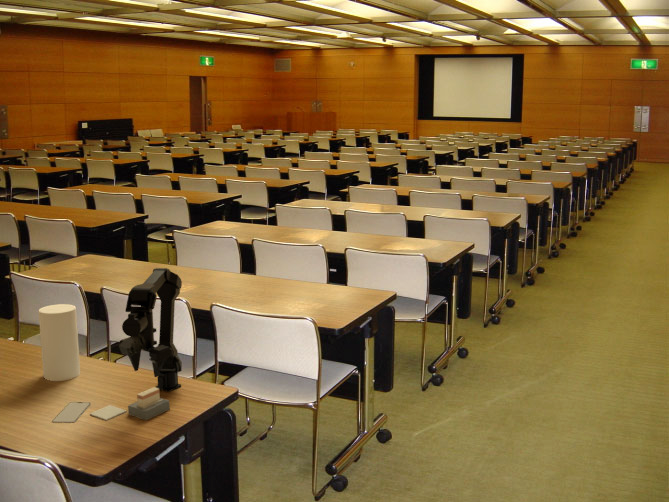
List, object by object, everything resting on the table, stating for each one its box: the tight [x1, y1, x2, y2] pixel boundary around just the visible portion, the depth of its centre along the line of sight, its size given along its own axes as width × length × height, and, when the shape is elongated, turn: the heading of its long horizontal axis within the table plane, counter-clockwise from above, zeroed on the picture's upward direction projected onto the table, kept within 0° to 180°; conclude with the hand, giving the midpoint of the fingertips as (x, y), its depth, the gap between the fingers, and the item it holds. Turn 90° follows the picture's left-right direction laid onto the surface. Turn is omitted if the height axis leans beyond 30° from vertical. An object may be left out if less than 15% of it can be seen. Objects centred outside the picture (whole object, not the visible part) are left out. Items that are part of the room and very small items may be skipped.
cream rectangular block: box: [136, 386, 161, 408], centre depth 224 cm, size 7×2×7 cm, turn 147°
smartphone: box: [51, 401, 92, 424], centre depth 224 cm, size 7×1×15 cm
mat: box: [89, 404, 128, 422], centre depth 223 cm, size 8×8×1 cm
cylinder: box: [38, 303, 81, 382], centre depth 254 cm, size 12×12×25 cm
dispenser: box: [127, 397, 171, 421], centre depth 224 cm, size 10×8×3 cm
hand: (146, 373), depth 222 cm, fingers open, 9 cm apart
